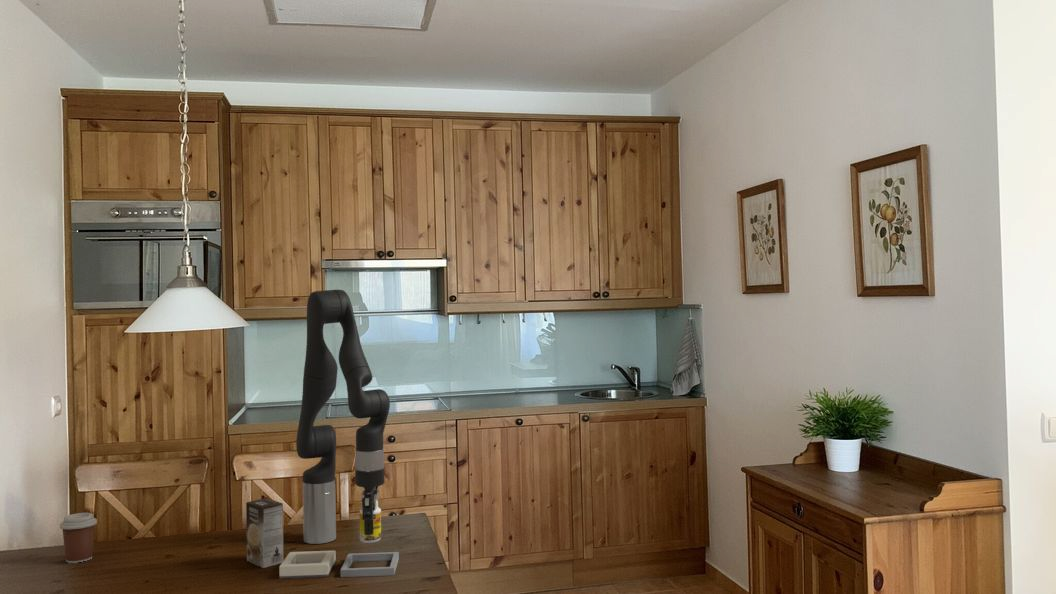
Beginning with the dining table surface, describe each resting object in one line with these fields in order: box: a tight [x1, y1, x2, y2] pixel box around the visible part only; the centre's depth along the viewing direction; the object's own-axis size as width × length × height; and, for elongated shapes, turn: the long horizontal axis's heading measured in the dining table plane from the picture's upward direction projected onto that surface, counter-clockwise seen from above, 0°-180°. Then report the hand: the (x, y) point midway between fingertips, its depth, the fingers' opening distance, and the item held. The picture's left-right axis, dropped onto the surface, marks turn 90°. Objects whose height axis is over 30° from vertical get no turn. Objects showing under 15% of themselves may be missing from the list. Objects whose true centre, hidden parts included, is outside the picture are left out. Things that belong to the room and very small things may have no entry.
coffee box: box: [245, 497, 284, 569], centre depth 222 cm, size 9×6×16 cm
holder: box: [278, 550, 337, 580], centre depth 215 cm, size 12×12×3 cm
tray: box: [340, 551, 400, 578], centre depth 216 cm, size 13×13×2 cm
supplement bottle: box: [359, 500, 382, 544], centre depth 216 cm, size 6×6×10 cm
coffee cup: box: [59, 512, 98, 564], centre depth 226 cm, size 9×9×12 cm
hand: (370, 530), depth 216 cm, fingers closed on supplement bottle, 5 cm apart
